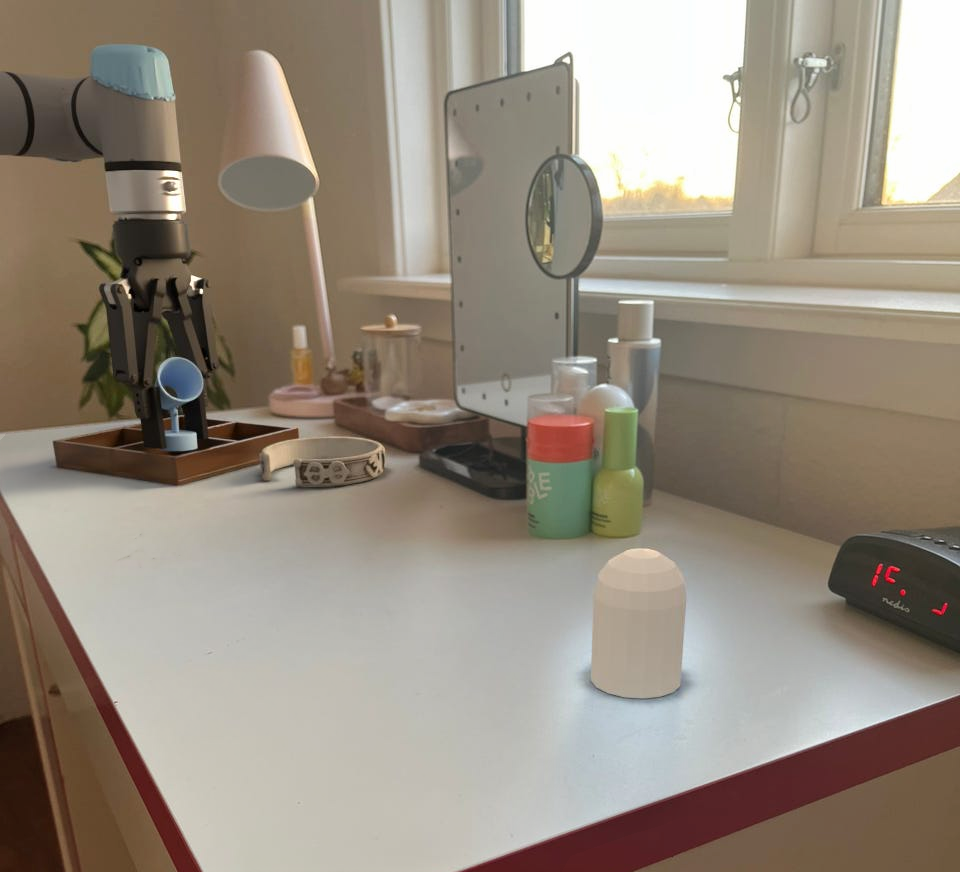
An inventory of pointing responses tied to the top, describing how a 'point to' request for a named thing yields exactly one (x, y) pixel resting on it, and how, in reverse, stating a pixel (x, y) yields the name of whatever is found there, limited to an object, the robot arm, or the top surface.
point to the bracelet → (325, 460)
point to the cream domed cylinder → (638, 625)
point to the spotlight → (179, 398)
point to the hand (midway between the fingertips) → (176, 442)
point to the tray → (130, 458)
